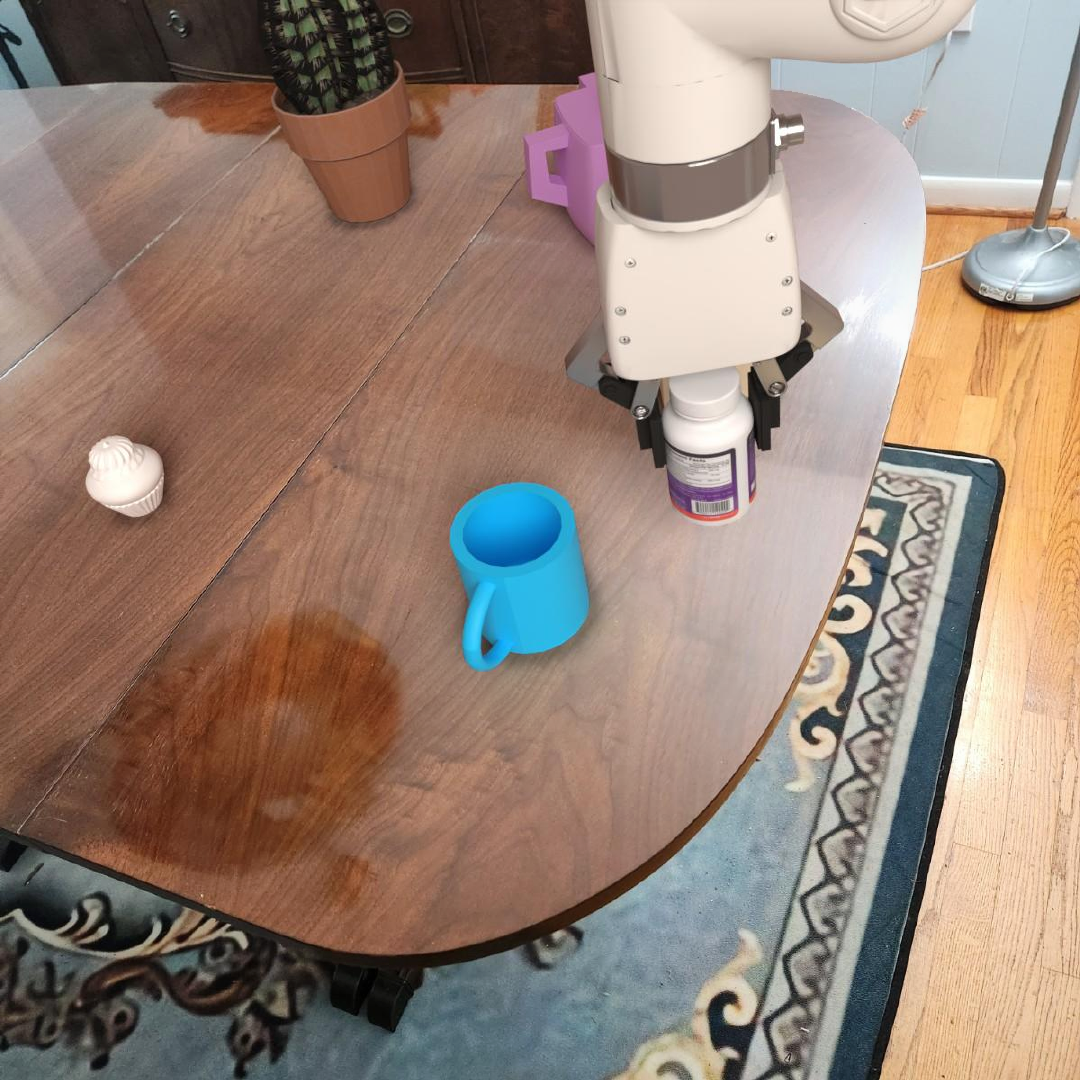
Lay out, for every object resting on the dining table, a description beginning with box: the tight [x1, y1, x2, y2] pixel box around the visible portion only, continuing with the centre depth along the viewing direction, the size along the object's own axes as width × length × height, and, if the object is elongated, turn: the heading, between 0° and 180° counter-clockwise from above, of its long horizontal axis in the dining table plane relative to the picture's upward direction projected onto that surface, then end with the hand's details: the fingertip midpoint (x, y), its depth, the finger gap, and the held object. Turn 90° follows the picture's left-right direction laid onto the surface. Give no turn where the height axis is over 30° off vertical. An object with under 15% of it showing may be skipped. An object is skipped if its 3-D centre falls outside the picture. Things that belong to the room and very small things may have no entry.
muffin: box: [85, 434, 165, 518], centre depth 81 cm, size 6×6×7 cm
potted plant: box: [256, 0, 413, 224], centre depth 102 cm, size 14×14×25 cm
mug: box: [449, 481, 591, 672], centre depth 66 cm, size 12×8×8 cm
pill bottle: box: [661, 366, 757, 528], centre depth 60 cm, size 5×5×10 cm
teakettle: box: [522, 71, 609, 247], centre depth 98 cm, size 17×17×12 cm
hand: (708, 441), depth 60 cm, fingers closed on pill bottle, 5 cm apart
